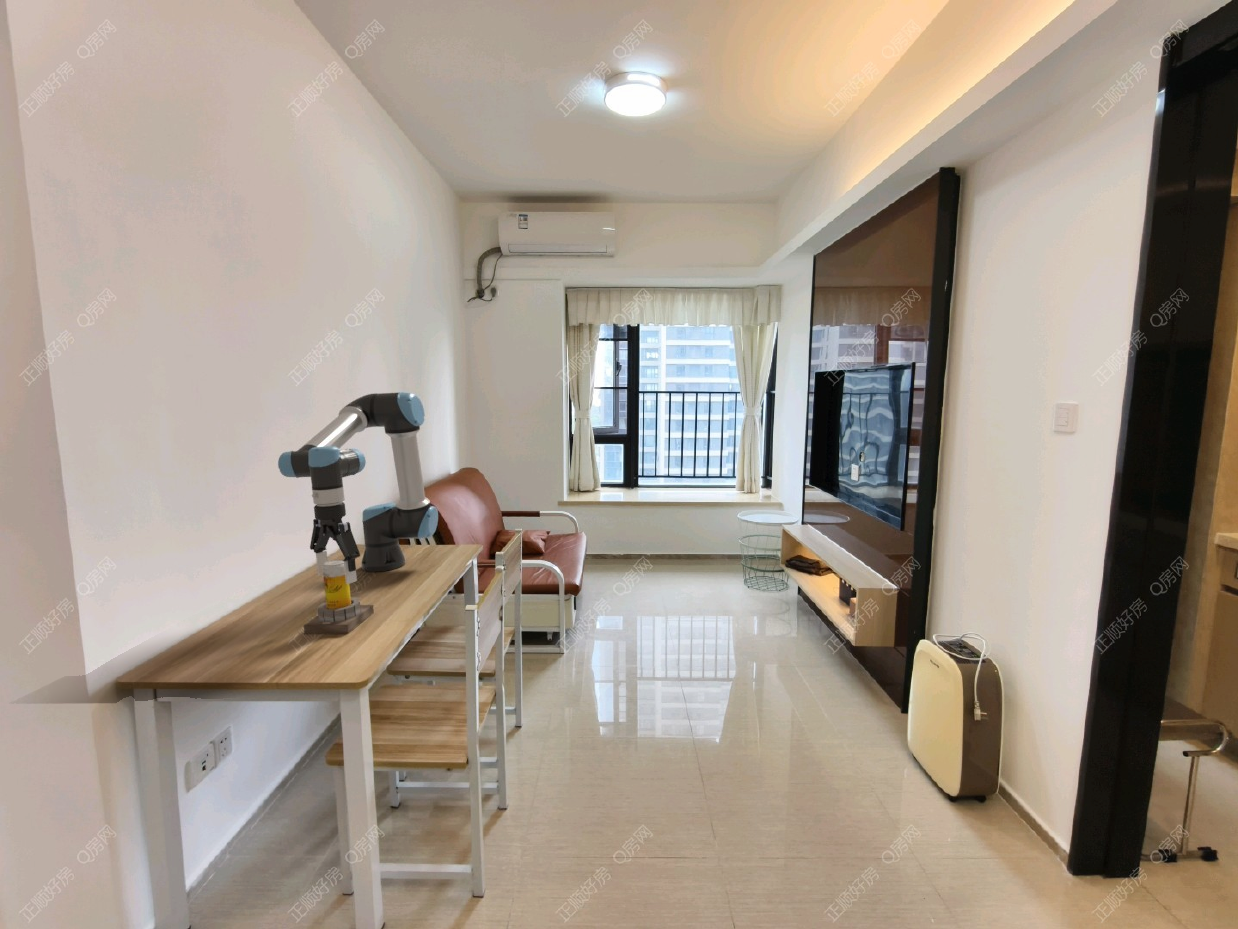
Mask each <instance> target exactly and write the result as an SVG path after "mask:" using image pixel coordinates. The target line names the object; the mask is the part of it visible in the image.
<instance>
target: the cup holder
mask: <svg viewBox="0 0 1238 929" xmlns="http://www.w3.org/2000/svg"><path fill="white" fill-rule="evenodd" d="M316 610H317V616H315V617H314V618H312V619H310V620H309V621H307V622H306V623H305V624H303V632H304V635H315V634H316V635H326V634H332V635H337V634H342V635H343V634H348V635H349V633H351V632H353V631H354V630H355V629H356V628H357V627H358V626H359V625H361V624H362V623H363V622H365V621H366V620H367V619H368V618H370V617H371V616H373V614H374V604H361V600H360V598H357V597H355V596H354V597H353V596H351V605H350V606H347V607H344V608H339V609H327V604H326V601H325V602H322V603H320V604H319V605H318V606H317V609H316Z"/></svg>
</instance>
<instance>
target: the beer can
mask: <svg viewBox="0 0 1238 929" xmlns="http://www.w3.org/2000/svg"><path fill="white" fill-rule="evenodd" d="M343 560H344V559H341V558H340V559H334V560H333V559H332V560H329V561H328V562H326V563H324V567H323V574H324V575H323V582H324V594H325V602H326V604H327V609H339V608H344V607H347V606H350V605H351V597H352V596H351V588H350V585H351V584H346V579H345V569H344V561H343Z"/></svg>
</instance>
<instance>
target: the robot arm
mask: <svg viewBox="0 0 1238 929" xmlns="http://www.w3.org/2000/svg"><path fill="white" fill-rule="evenodd" d="M425 415H426V414H425V409H424V405H423V403H422V400H421V399H420V398H419V397H418V396H417V394H414V393H413V392H399V391H398V392H382V393H375V392H374V393H369V394H368V393H367V394H365V395H363V396H360V397H358V398H356V399H355V400H353V401H351V402H349V403H348V404H346V405H345V406H344V407H342V408H341V410H339V413H338V416H337V417H335V418H334V419H333V420H332V421H331V422H330V423H328V424H327V425H326V426H325V427H324V428H323V429H322V430H320V431H319V432H318V433H317V434H316V435H314V436H313V437H312V438H311V439H310V440H308V441H306V443H305V444H303V446H301V447H300V448H298V449H297V450H295V451H294V450H290V451H284V452H282V453H281V454H280V455H279V457H278V460H277V461H278V462H277V468H278V469H279V472H280V473H281V475H282V476H283V477H286V478H296V479H299V478H310V482H311V491H312V493H311V497H312V500H313V504H314V506H313V509H314V510H313V511H314V512H313V513H314V519H313V526H312V527H313V528H312V533H311V534H312V535H311V539H310V545H309V549H310V550H312V551H313V553H314V554H315V558H316V559H315V560H316V568H317V575H318V577H320V576H321V577H322V576H324V574H323V567H324V563H326V562H328V560H329V559H328V553H327V552H328V551H327V545H328V544H329V543H328V542H329V540H330V539H332V541H335V542H336V544H337V546H338V549H340V551H341V553H342V555H343V557H344V558H343V559H342V560H343V561H344V569H345V579H346V584H349V585H351V584H352V583H355V582H357V581H358V577H357V565H356V559H357V558H360V557H361V553H360V551H359V547H358V545H357V543H356V540H355V537H354V534H353V532H352V528H351V523H350V522H349V521H348V522H347V521H346V522H343V517H346V515H347V512H346V511H347V510H346V504H345V503H344V501H345V493H344V491H345V490H344V485H343V478H347V477H350V476H355V475H356V474H358V473H360V472H361V473H362V471H363V470H364V468H365V467H366V464H367V462H366V456H365V454H364V453H363V452H362V451H361V450H360V449H357V448H345V449H341V448H342V446H344V445H345V444H346V443H347V442H348V441H349V440H351V438H353V437H354V436H355V434H356V433H361V432H363V431H364V430H365V429H367V428H377V427H379V428H381V427H383V429H384V433H385V434H386V435H387V436H389V437H390V441H391V448H392V453H393V460H394V467H395V473H396V474H395V475H396V480H397V487H398V494H399V500H400V501H399V502H398V503H397V504H396V503H395V502H388V503H382V504H377V505H372V506H369V507H366V508H365V509H363V511H362V528H363V529H362V530H363V537H364V538H363V539H364V551H363V555H362V558H361V570H362V571H364V572H369V573H370V572H377V573H378V572H385V571H390V570H395V569H398V568H400V567H402V566H404V565H405V564H406V557H405V555H404V552H403V550H402V548H401V546H400V544H399V539H403V540H404V539H419V540H421V539H429V538H430V537H432V536H433V535H434V534H435V533H436V530H437V526H438V522H439V512H438V509H437V507H436V506H434V505H431V500H430V499H429V498H428V497H426V492H425V488H424V480H423V473H422V464H421V459H420V451H419V445H418V444H419V443H418V438H417V434H418V433H419V431H420V430H421V428H420V427H421V426H422V425H423V424H424V422H425Z"/></svg>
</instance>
